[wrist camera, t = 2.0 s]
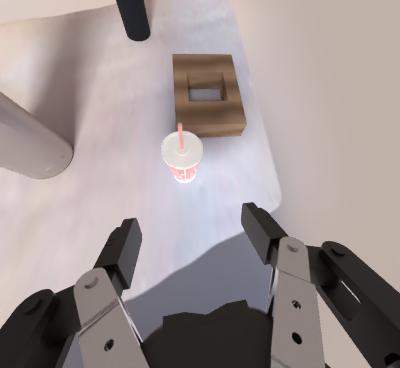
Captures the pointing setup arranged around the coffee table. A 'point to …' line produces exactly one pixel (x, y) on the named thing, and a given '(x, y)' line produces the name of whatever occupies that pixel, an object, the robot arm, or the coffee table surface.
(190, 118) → the wooden cup holder
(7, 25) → the coffee table surface
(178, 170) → the beverage cup
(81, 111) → the coffee table surface
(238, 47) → the coffee table surface
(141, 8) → the black water bottle
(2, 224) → the coffee table surface
